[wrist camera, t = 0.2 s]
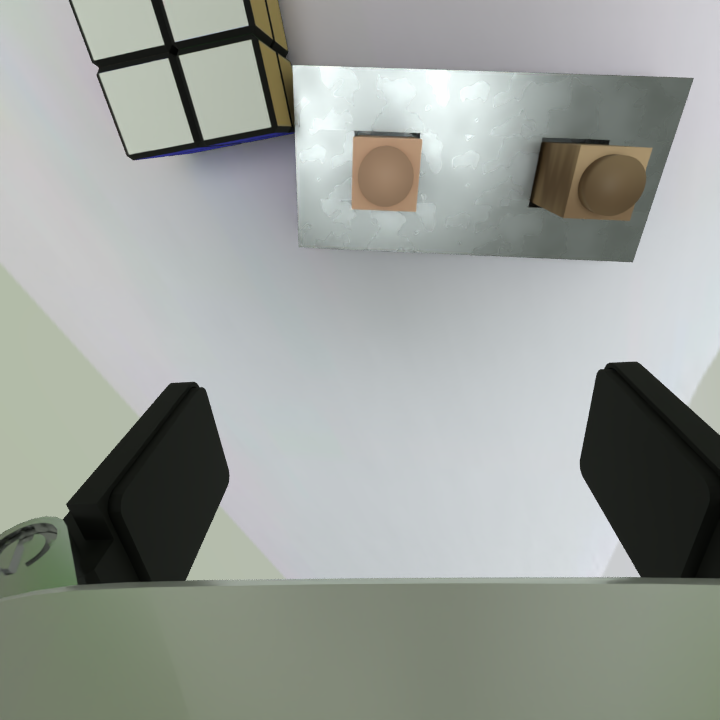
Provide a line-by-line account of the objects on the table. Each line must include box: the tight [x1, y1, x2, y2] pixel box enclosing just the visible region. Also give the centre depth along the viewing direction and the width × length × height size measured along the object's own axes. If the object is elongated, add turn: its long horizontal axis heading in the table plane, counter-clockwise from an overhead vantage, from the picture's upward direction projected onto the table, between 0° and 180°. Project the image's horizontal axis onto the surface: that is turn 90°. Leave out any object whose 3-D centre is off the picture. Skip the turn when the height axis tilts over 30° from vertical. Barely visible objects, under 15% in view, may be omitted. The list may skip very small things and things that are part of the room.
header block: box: [293, 65, 694, 262], centre depth 33 cm, size 12×26×5 cm, turn 88°
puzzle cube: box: [69, 0, 295, 160], centre depth 29 cm, size 10×10×10 cm
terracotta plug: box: [351, 135, 422, 212], centre depth 30 cm, size 4×4×11 cm
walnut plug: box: [530, 142, 652, 221], centre depth 29 cm, size 4×4×11 cm
